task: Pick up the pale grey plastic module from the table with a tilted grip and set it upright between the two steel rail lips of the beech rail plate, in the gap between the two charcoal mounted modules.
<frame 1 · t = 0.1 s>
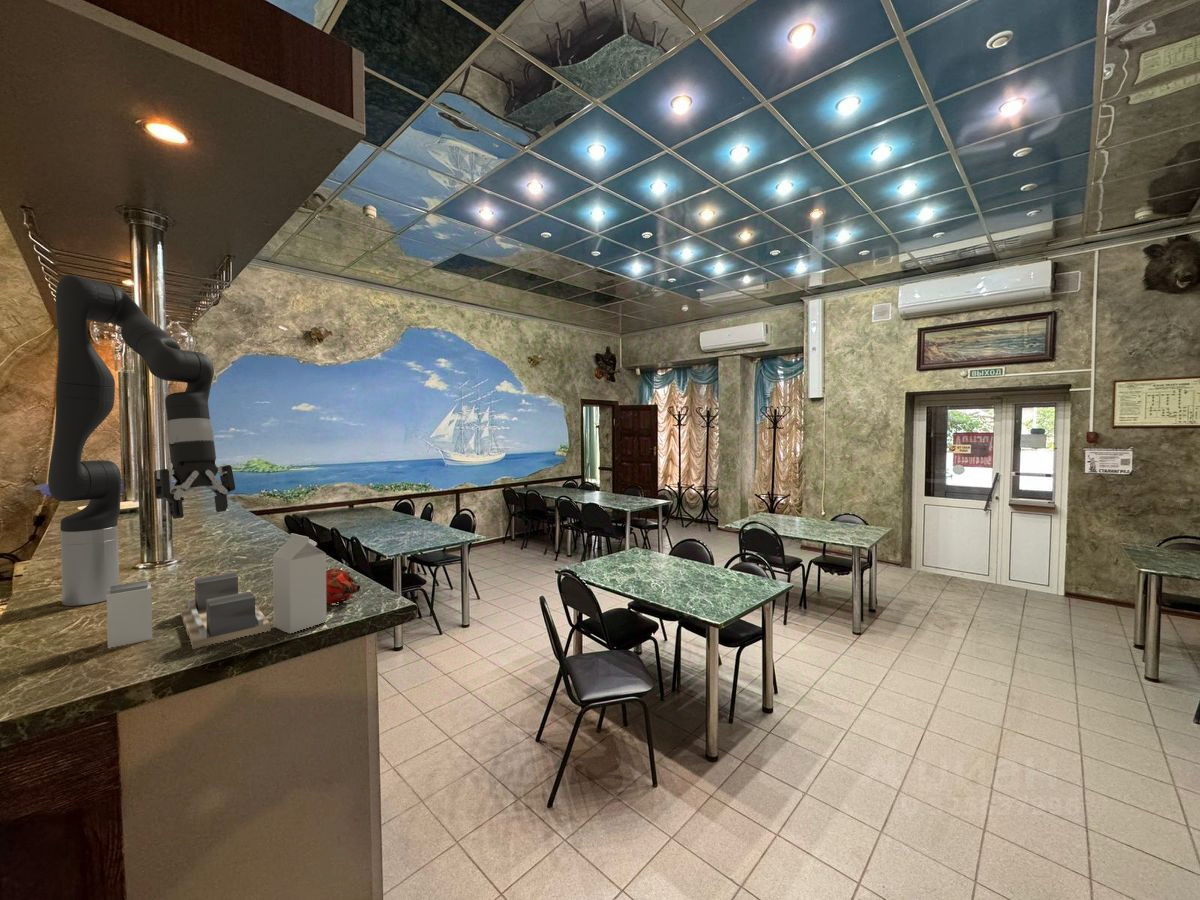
hand: (200, 514, 102), 22 cm above the worktop, tool pointing down, fingers open, 8 cm apart
milk carton: (300, 626, 98), on the worktop
module: (130, 639, 91), on the worktop
dragon fruit: (337, 602, 113), on the worktop
rail plate: (223, 622, 100), on the worktop
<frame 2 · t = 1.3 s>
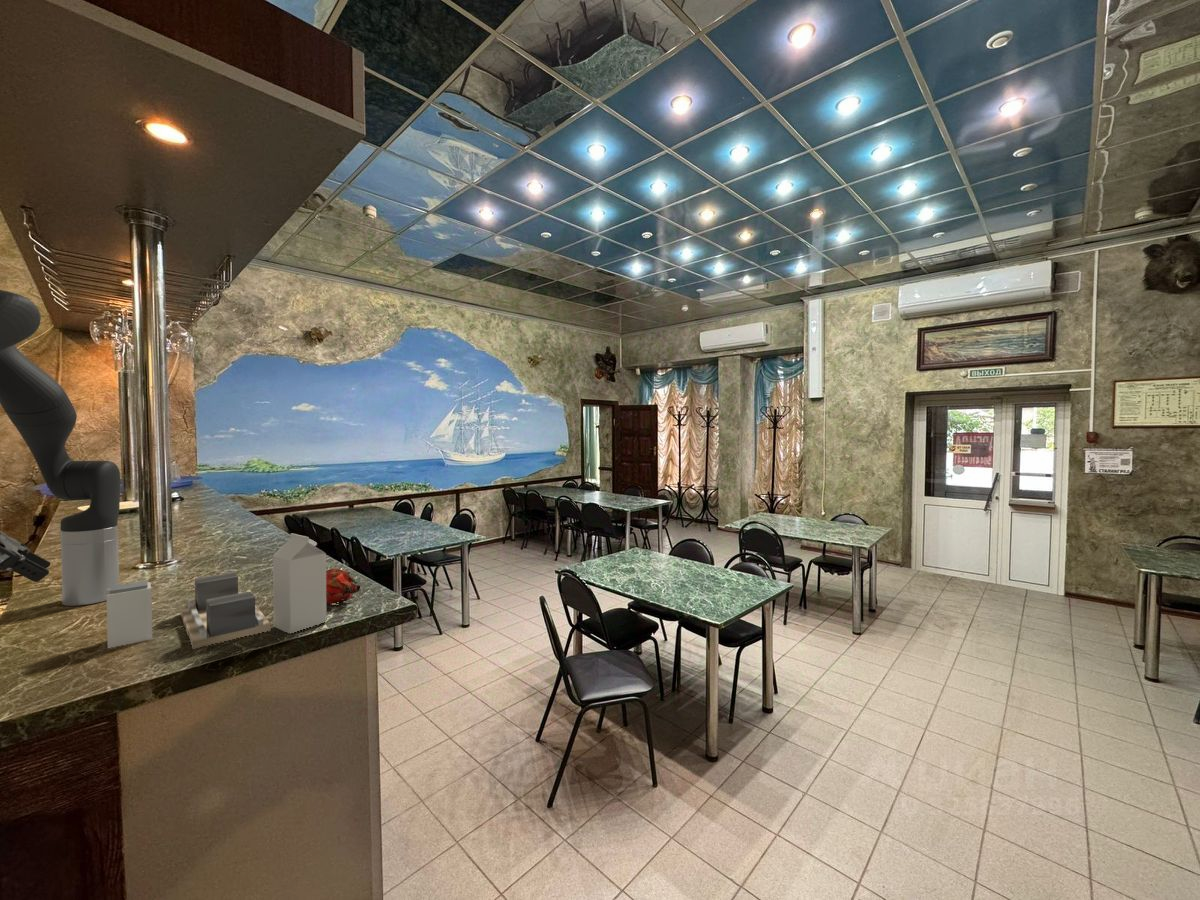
hand: (44, 572, 83), 15 cm above the worktop, tool tilted 45°, fingers open, 8 cm apart
nothing on the worktop moved.
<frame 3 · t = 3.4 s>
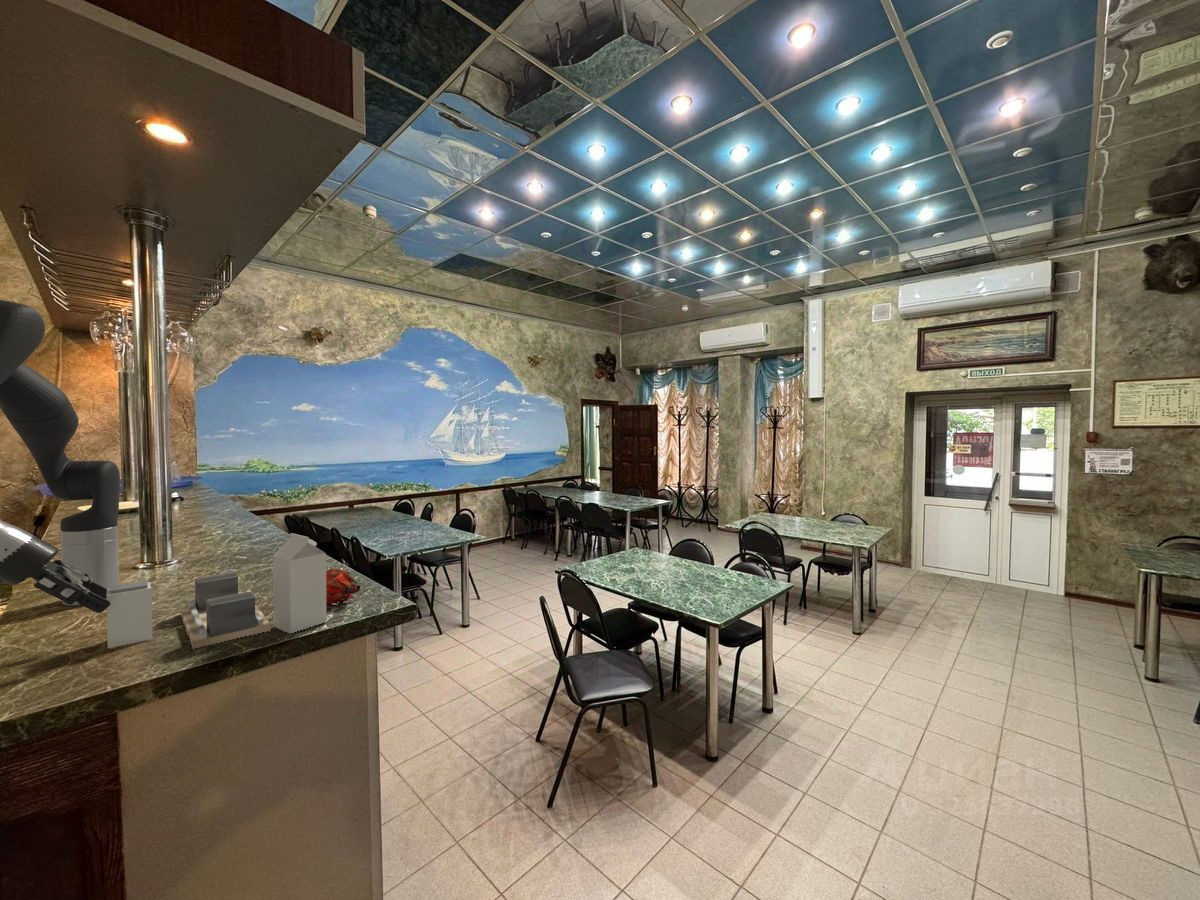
hand: (106, 602, 89), 8 cm above the worktop, tool tilted 45°, fingers open, 8 cm apart
nothing on the worktop moved.
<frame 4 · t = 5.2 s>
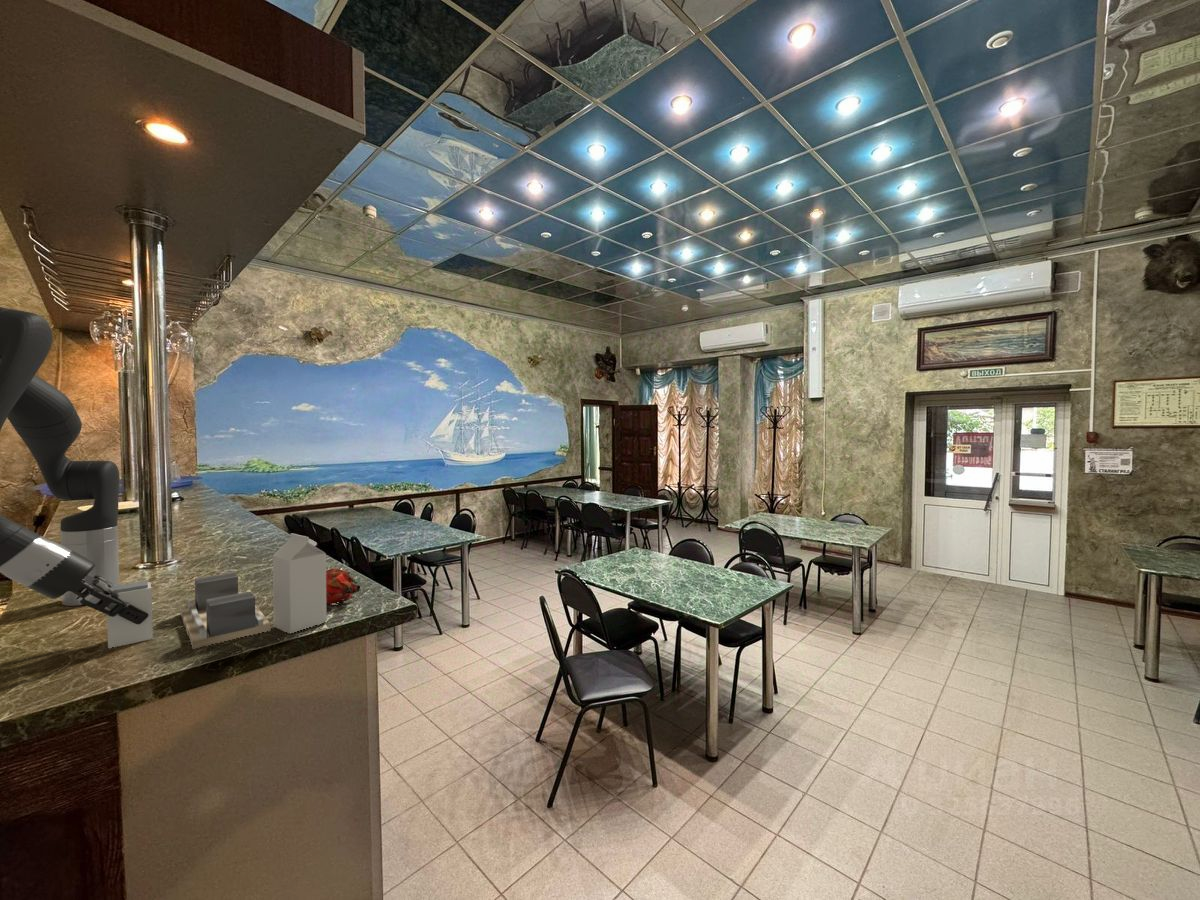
hand: (143, 615, 92), 4 cm above the worktop, tool tilted 45°, fingers closed on module, 5 cm apart
module: (130, 639, 91), on the worktop, touching gripper
everything else where it was.
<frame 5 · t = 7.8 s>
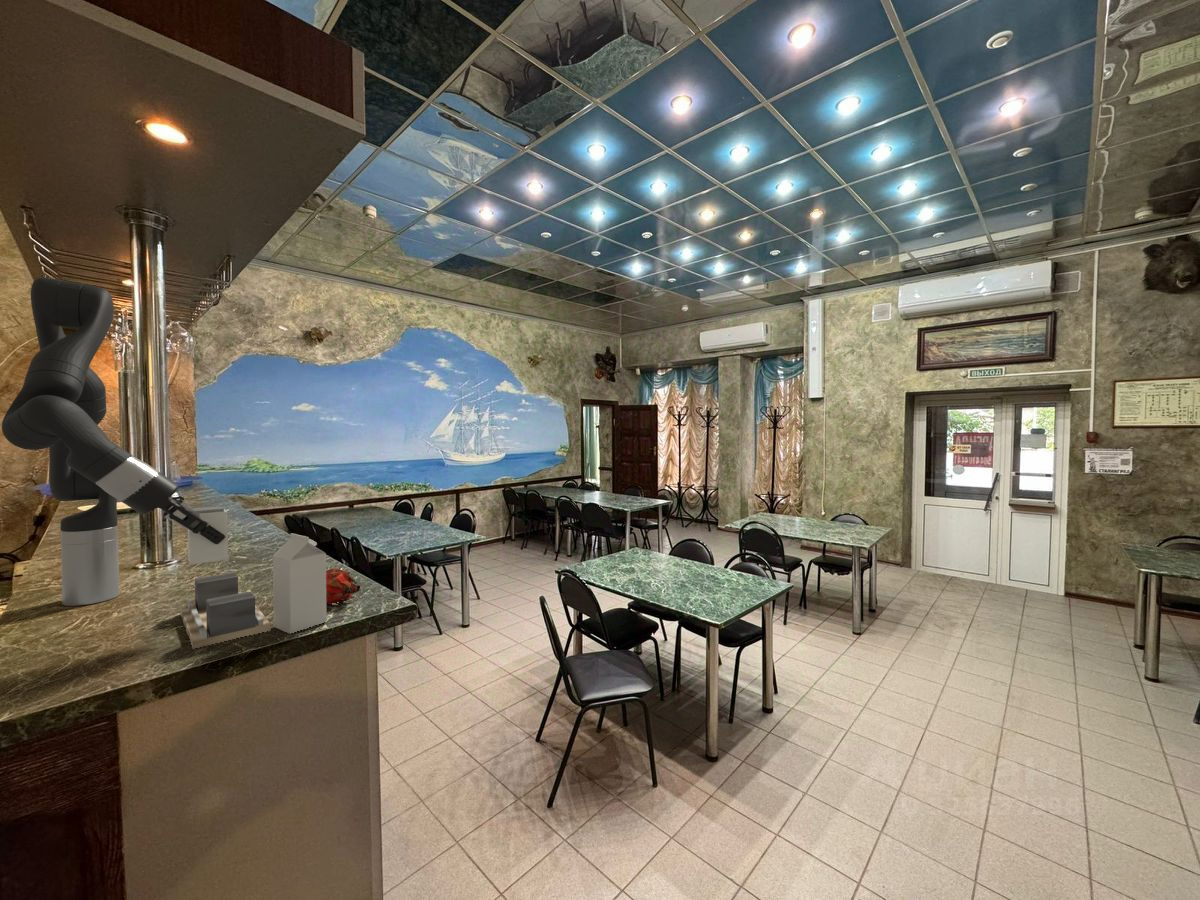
hand: (219, 538, 99), 18 cm above the worktop, tool tilted 45°, fingers closed on module, 5 cm apart
module: (208, 559, 97), point 14 cm above the worktop, touching gripper
everything else where it was.
when the fingers open (7 cm above the worktop, at t = 10.5 s): module drops 1 cm, resting on rail plate.
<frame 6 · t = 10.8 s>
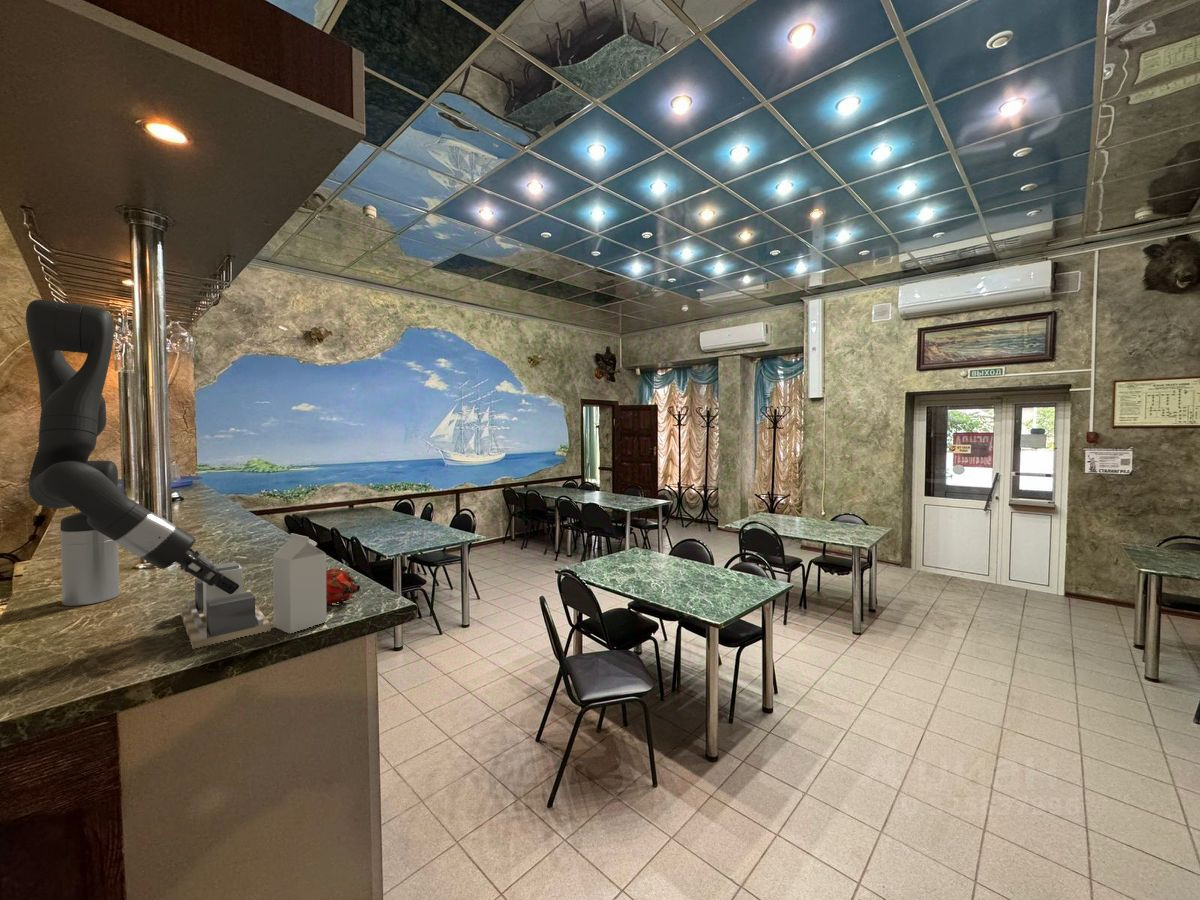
hand: (232, 585, 100), 7 cm above the worktop, tool tilted 45°, fingers open, 7 cm apart
module: (223, 615, 100), point 2 cm above the worktop, touching rail plate
everything else where it was.
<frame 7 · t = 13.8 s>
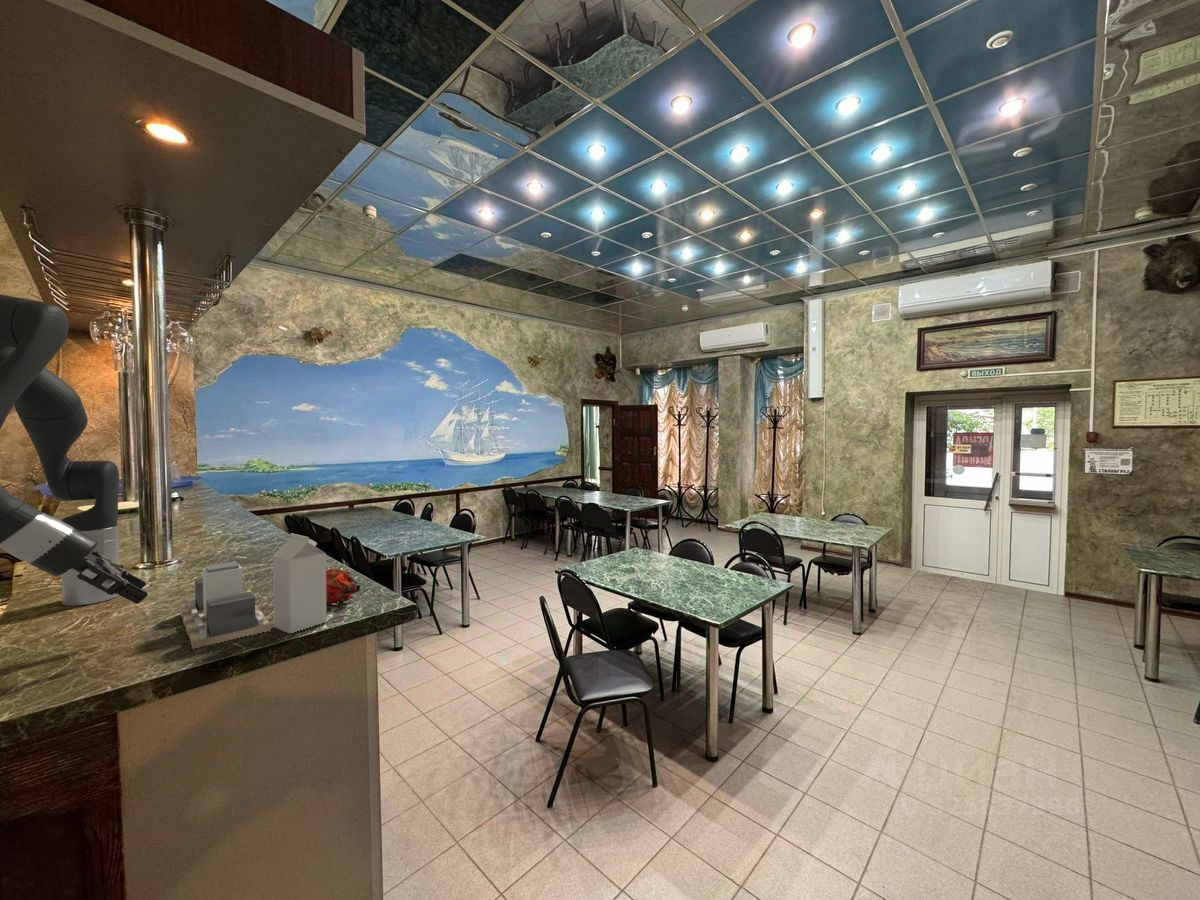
hand: (142, 593, 91), 9 cm above the worktop, tool tilted 45°, fingers open, 8 cm apart
nothing on the worktop moved.
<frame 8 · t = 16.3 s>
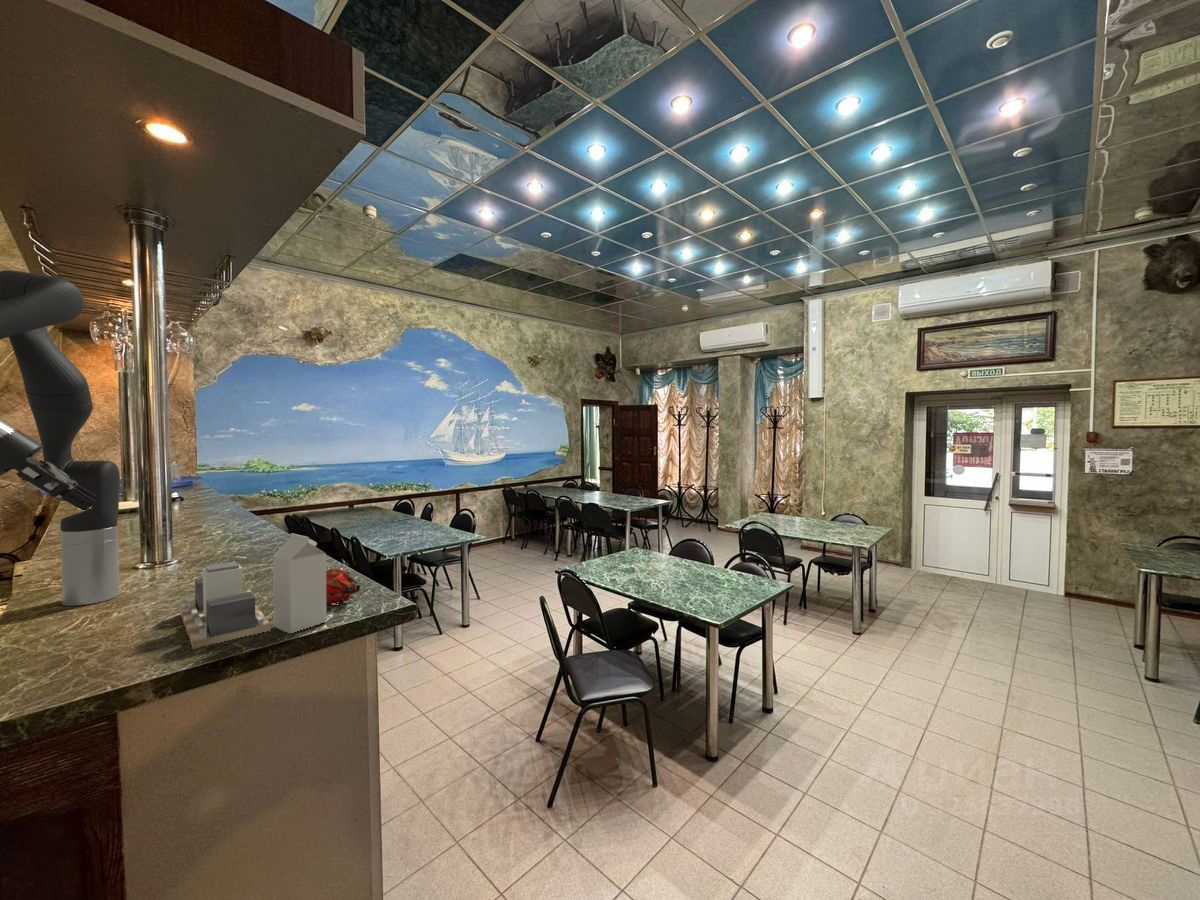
hand: (91, 504, 88), 27 cm above the worktop, tool tilted 45°, fingers open, 8 cm apart
nothing on the worktop moved.
at the end: module 0.1 cm off-centre on the rail plate, point 1.5 cm above the rail plate's base; module tilted 0°; the gripper is holding nothing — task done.
